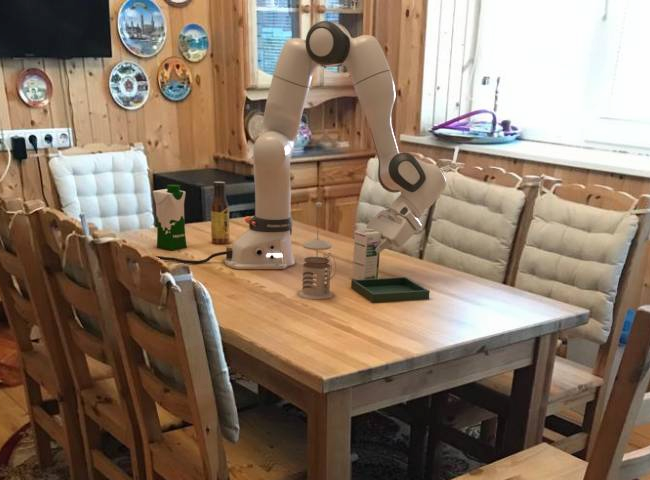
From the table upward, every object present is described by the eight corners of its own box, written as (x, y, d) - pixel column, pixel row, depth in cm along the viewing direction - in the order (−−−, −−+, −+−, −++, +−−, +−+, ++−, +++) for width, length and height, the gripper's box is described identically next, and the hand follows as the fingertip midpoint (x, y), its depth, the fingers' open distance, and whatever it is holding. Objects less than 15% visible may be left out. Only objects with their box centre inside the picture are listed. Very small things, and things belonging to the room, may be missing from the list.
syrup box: (363, 283, 245) (367, 233, 237) (351, 278, 249) (354, 229, 241) (378, 280, 248) (382, 231, 240) (366, 276, 252) (369, 227, 244)
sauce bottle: (228, 245, 281) (227, 184, 272) (210, 244, 281) (208, 183, 271) (230, 241, 287) (229, 181, 277) (213, 240, 287) (211, 180, 277)
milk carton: (171, 251, 270) (168, 187, 260) (152, 247, 274) (148, 183, 264) (190, 247, 276) (188, 184, 266) (171, 243, 280) (168, 181, 270)
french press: (316, 287, 238) (319, 197, 225) (344, 296, 231) (349, 204, 218) (291, 293, 232) (293, 201, 219) (319, 302, 224) (323, 207, 212)
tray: (372, 303, 226) (373, 294, 225) (351, 288, 239) (351, 280, 238) (428, 299, 232) (429, 290, 231) (405, 284, 245) (405, 276, 244)
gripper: (382, 200, 249) (351, 234, 251) (412, 212, 233) (378, 249, 234) (394, 215, 253) (363, 248, 254) (424, 228, 236) (391, 264, 238)
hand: (370, 248), depth 244 cm, fingers closed on syrup box, 6 cm apart
